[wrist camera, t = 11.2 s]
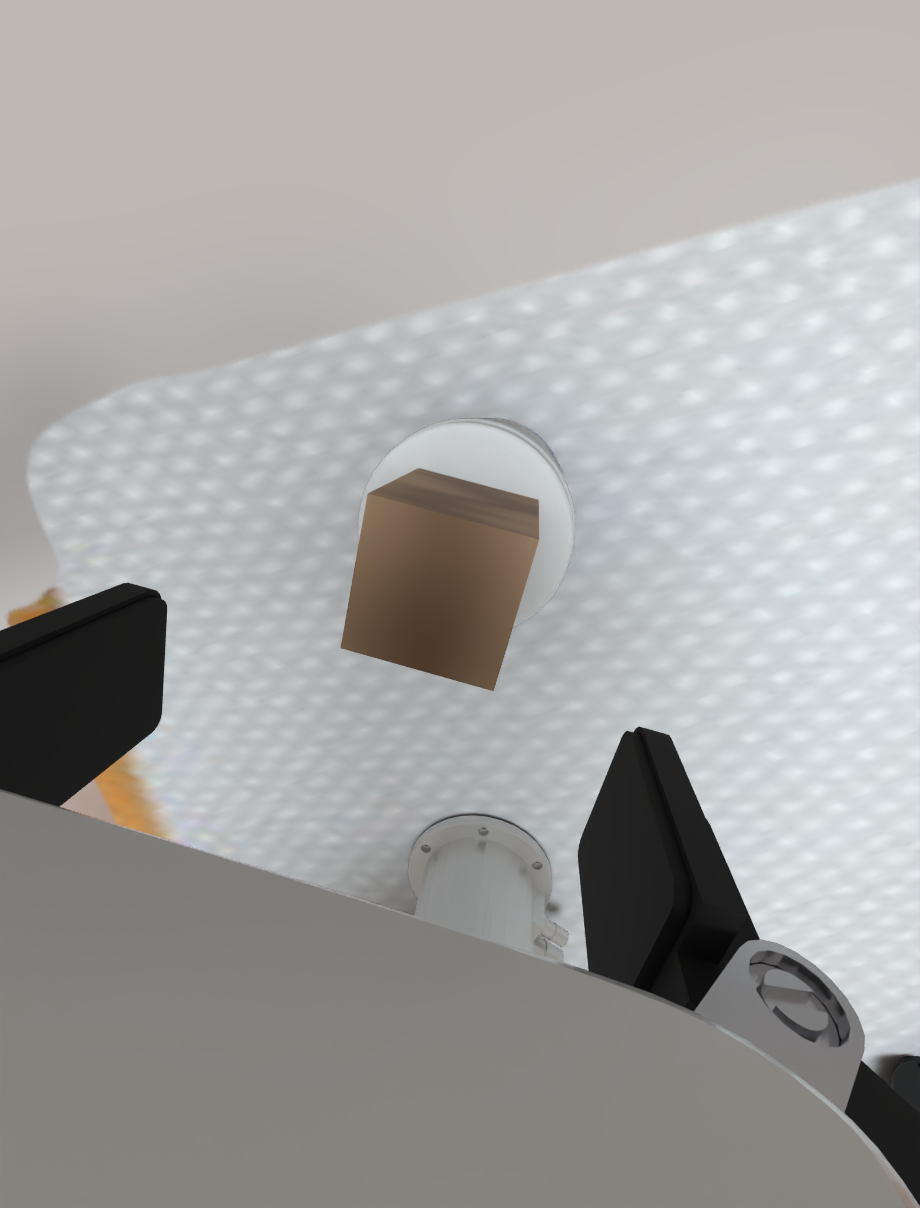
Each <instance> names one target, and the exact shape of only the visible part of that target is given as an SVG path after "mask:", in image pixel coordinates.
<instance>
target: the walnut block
mask: <svg viewBox="0 0 920 1208" xmlns="http://www.w3.org/2000/svg"><path fill="white" fill-rule="evenodd" d="M538 542H539V500H538V499H534V498H530V497H526V496H523V495H519V494H515V493H511V492H508V491H504V490H500V489H496V488H492V487H489V486H485V485H481V484H477V483H474V482H470V481H466V480H462V479H459V478H455V477H451V476H447V475H443V474H440V473H436V472H432V471H428V470H425V469H421V468H418V469H416V470H414V471H412V472H410V473H408V474H406V475H404V476H402V477H400V478H398V479H396V480H394V481H392V482H390V483H388V484H386V485H384V486H382V487H380V488H378V489H376V490H374V491H372V492H370V493H368V494H367V500H366V505H365V511H364V517H363V523H362V528H361V534H360V540H359V546H358V551H357V557H356V563H355V569H354V574H353V580H352V586H351V592H350V597H349V603H348V609H347V615H346V621H345V626H344V632H343V638H342V644H341V648H342V649H346V650H349V651H353V652H357V653H360V654H364V655H367V656H371V657H374V658H378V659H381V660H385V661H389V662H392V663H396V664H399V665H403V666H406V667H410V668H413V669H417V670H420V671H424V672H428V673H431V674H435V675H438V676H442V677H445V678H449V679H452V680H456V681H459V682H463V683H467V684H470V685H474V686H477V687H481V688H484V689H488V690H491V691H494V688H495V684H496V681H497V678H498V674H499V671H500V668H501V665H502V661H503V658H504V655H505V651H506V648H507V645H508V641H509V638H510V635H511V632H512V628H513V625H514V622H515V618H516V615H517V612H518V608H519V605H520V602H521V598H522V595H523V592H524V589H525V585H526V582H527V579H528V575H529V572H530V569H531V565H532V562H533V559H534V556H535V552H536V549H537V546H538Z"/></svg>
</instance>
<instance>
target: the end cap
mask: <svg viewBox="0 0 920 1208" xmlns="http://www.w3.org/2000/svg"><path fill="white" fill-rule="evenodd" d="M890 1087H891V1088H892V1089H893V1090H895V1091H896V1092H897V1093H898V1094H899V1095H900V1096H901V1097H902V1098H903V1099H904V1100H906V1101H907V1102H908V1103H909V1104H910V1105H911V1106H912V1107H913V1108H914V1109H915V1110H917V1111H918V1112H919V1113H920V1056H909V1057H904V1058H903V1059H902V1060H901V1061H900V1063H899V1064H898V1065H897V1067H896V1069H895V1070H894V1072H893V1075H892V1079H891V1086H890Z"/></svg>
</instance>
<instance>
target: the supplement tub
mask: <svg viewBox="0 0 920 1208" xmlns="http://www.w3.org/2000/svg"><path fill="white" fill-rule="evenodd" d="M418 468H421V469H425V470H428V471H432V472H436V473H440V474H443V475H447V476H451V477H455V478H459V479H462V480H466V481H470V482H474V483H477V484H481V485H485V486H489V487H492V488H496V489H500V490H504V491H508V492H511V493H515V494H519V495H523V496H526V497H530V498H534V499H538V500H539V542H538V546H537V549H536V552H535V556H534V559H533V562H532V565H531V569H530V572H529V575H528V579H527V582H526V585H525V589H524V592H523V595H522V598H521V602H520V605H519V608H518V612H517V615H516V618H515V622H514V625H513V627H515V626H517V625H519V624H521V623H522V622H524V621H526V620H527V619H529V618H530V617H531V616H533V615H534V614H535V613H537V612H538V611H539V610H540V609H541V608H542V607H543V606H544V605H545V604H546V603H547V602H548V601H549V600H550V598H551V597H552V596H553V594H554V593H555V591H556V590H557V588H558V587H559V585H560V584H561V582H562V580H563V578H564V576H565V573H566V571H567V568H568V565H569V562H570V559H571V556H572V552H573V547H574V540H575V515H574V508H573V502H572V498H571V495H570V492H569V489H568V486H567V483H566V481H565V479H564V476H563V473H562V470H561V468H560V465H559V463H558V461H557V459H556V457H555V455H554V453H553V452H552V450H551V449H550V448H549V446H548V445H547V444H546V443H545V442H544V441H543V439H542V438H541V437H540V436H538V435H537V434H536V433H535V432H533V431H532V430H530V429H528V428H527V427H525V426H523V425H521V424H518V423H516V422H513V421H509V420H504V419H495V418H464V419H455V420H447V421H443V422H439V423H436V424H432V425H430V426H427V427H425V428H423V429H421V430H419V431H417V432H415V433H413V434H412V435H410V436H409V437H407V438H406V439H404V440H403V441H402V442H401V443H399V444H398V445H397V446H396V447H394V448H393V449H392V450H391V451H390V452H389V453H388V454H387V455H386V456H385V457H384V458H383V459H382V461H381V462H380V463H379V464H378V466H377V467H376V469H375V470H374V472H373V473H372V475H371V477H370V479H369V481H368V483H367V485H366V488H365V490H364V493H363V497H362V500H361V504H360V509H359V517H358V537H359V540H360V534H361V528H362V523H363V517H364V511H365V505H366V500H367V494H368V493H370V492H372V491H374V490H376V489H378V488H380V487H382V486H384V485H386V484H388V483H390V482H392V481H394V480H396V479H398V478H400V477H402V476H404V475H406V474H408V473H410V472H412V471H414V470H416V469H418Z"/></svg>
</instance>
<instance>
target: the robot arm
mask: <svg viewBox="0 0 920 1208" xmlns="http://www.w3.org/2000/svg"><path fill="white" fill-rule="evenodd" d="M166 622H167V605H166V602H165V601H164V600H161V596H160V594H159V593H158V592H157V591H156V590H152V589H149V588H145V587H142V586H138V585H134V584H131V583H123V584H121V585H118V586H115V587H113V588H110V589H108V590H105V591H102V592H100V593H97V594H95V595H92V596H89V597H87V598H84V599H81V600H79V601H76V602H74V603H71V604H68V605H66V606H63V607H61V608H58V609H55V610H53V611H50V612H48V613H45V614H42V615H40V616H37V617H35V618H32V619H29V620H27V621H24V622H22V623H19V624H16V625H14V626H11V627H9V628H6V629H4V630H1V631H0V1208H920V1113H919V1112H918V1111H917V1110H915V1109H914V1108H913V1107H912V1106H911V1105H910V1104H909V1103H908V1102H907V1101H906V1100H904V1099H903V1098H902V1097H901V1096H900V1095H899V1094H898V1093H897V1092H896V1091H895V1090H893V1089H892V1088H891V1087H890V1086H889V1085H888V1084H887V1083H886V1082H885V1081H883V1080H882V1079H881V1078H880V1077H879V1076H878V1075H877V1074H876V1073H875V1072H874V1071H872V1070H871V1069H870V1068H869V1067H868V1066H867V1065H866V1064H865V1063H864V1062H863V1061H861V1059H862V1056H863V1053H864V1042H865V1035H864V1032H863V1029H862V1026H861V1023H860V1020H859V1017H858V1016H857V1014H856V1012H855V1011H854V1009H853V1008H852V1006H851V1004H850V1003H849V1001H848V999H847V998H846V997H845V995H844V994H843V993H842V992H841V991H840V990H839V988H838V987H837V986H836V985H835V984H834V983H833V981H832V980H831V979H830V978H829V977H827V976H826V975H825V974H824V973H823V972H822V971H821V970H820V969H818V968H817V967H816V966H815V965H814V964H813V963H811V962H810V961H808V960H807V959H805V958H804V957H802V956H801V955H799V954H798V953H796V952H795V951H793V950H791V949H789V948H786V947H784V946H782V945H780V944H778V943H774V942H770V941H766V940H760V939H759V937H758V934H757V932H756V930H755V927H754V925H753V923H752V921H751V918H750V916H749V914H748V911H747V909H746V907H745V904H744V902H743V900H742V897H741V895H740V893H739V891H738V888H737V886H736V884H735V881H734V879H733V877H732V874H731V872H730V870H729V867H728V865H727V863H726V861H725V858H724V856H723V854H722V851H721V849H720V847H719V844H718V842H717V840H716V837H715V835H714V833H713V831H712V828H711V826H710V824H709V822H708V821H707V819H706V818H705V816H704V814H703V811H702V809H701V807H700V804H699V802H698V800H697V797H696V795H695V793H694V790H693V788H692V786H691V783H690V781H689V779H688V776H687V774H686V772H685V769H684V767H683V765H682V762H681V760H680V758H679V755H678V753H677V751H676V748H675V746H674V744H673V741H672V739H671V737H670V736H669V735H667V734H664V733H660V732H657V731H653V730H650V729H646V728H642V727H638V728H636V729H635V731H634V732H629V731H626V732H625V733H624V734H623V736H622V738H621V741H620V743H619V746H618V748H617V750H616V753H615V755H614V758H613V760H612V763H611V765H610V768H609V770H608V773H607V775H606V778H605V780H604V782H603V785H602V787H601V790H600V792H599V795H598V797H597V800H596V802H595V805H594V807H593V810H592V812H591V814H590V817H589V819H588V822H587V824H586V827H585V829H584V832H583V834H582V837H581V840H580V844H579V849H578V863H579V874H580V884H581V895H582V905H583V916H584V926H585V937H586V947H587V958H588V968H589V971H587V970H584V969H581V968H578V967H575V966H572V965H570V964H567V963H564V962H563V958H564V954H563V951H562V950H561V949H559V948H558V947H556V946H554V945H553V944H551V943H549V942H548V941H546V940H545V939H544V940H542V939H540V938H539V937H538V936H539V935H540V934H542V935H544V936H545V937H547V939H549V940H550V941H552V942H553V943H555V944H557V945H558V946H560V947H563V946H564V945H565V944H566V943H567V940H568V935H569V934H568V931H567V930H565V929H564V928H562V927H560V926H559V925H557V924H555V923H552V922H551V921H549V920H548V919H547V916H546V914H545V908H546V906H547V904H548V902H549V900H550V897H551V891H552V873H551V868H550V863H549V861H548V859H547V857H546V855H545V853H544V851H543V850H542V849H541V847H540V846H539V845H538V843H537V842H536V841H535V840H534V839H532V838H531V837H530V836H529V835H528V834H527V833H525V832H524V831H522V830H521V829H519V828H517V827H516V826H514V825H511V824H509V823H507V822H504V821H502V820H498V819H494V818H491V817H484V816H475V815H473V816H459V817H454V818H449V819H446V820H444V821H441V822H439V823H436V824H435V825H433V826H432V827H430V828H429V829H427V830H426V831H425V832H424V833H423V834H422V835H421V836H420V837H419V838H418V840H417V842H416V843H415V845H414V847H413V850H412V853H411V856H410V859H409V865H408V877H409V882H410V885H411V888H412V891H413V893H414V894H415V896H416V898H417V899H418V901H417V905H416V909H415V914H414V915H411V914H407V913H404V912H401V911H398V910H395V909H391V908H388V907H385V906H382V905H379V904H375V903H372V902H369V901H366V900H362V899H359V898H356V897H353V896H350V895H346V894H343V893H340V892H337V891H333V890H330V889H327V888H324V887H320V886H317V885H314V884H311V883H307V882H304V881H301V880H298V879H294V878H291V877H288V876H285V875H281V874H278V873H275V872H272V871H268V870H265V869H262V868H259V867H255V866H252V865H249V864H246V863H242V862H239V861H236V860H233V859H229V858H226V857H223V856H219V855H216V854H213V853H210V852H206V851H203V850H200V849H196V848H193V847H190V846H187V845H183V844H180V843H177V842H173V841H170V840H167V839H164V838H160V837H157V836H154V835H150V834H147V833H144V832H141V831H137V830H134V829H131V828H127V827H124V826H121V825H118V824H114V823H111V822H107V821H104V820H101V819H98V818H94V817H91V816H88V815H85V814H81V813H78V812H75V811H71V810H68V809H65V808H61V807H60V806H61V805H62V804H63V803H64V802H66V801H67V800H68V799H70V798H71V797H72V796H73V795H75V794H76V793H77V792H78V791H79V790H81V789H82V788H83V787H85V786H86V785H87V784H88V783H90V782H91V781H92V780H93V779H95V778H96V777H97V776H98V775H100V774H101V773H102V772H103V771H105V770H106V769H107V768H108V767H110V766H111V765H112V764H113V763H115V762H116V761H117V760H118V759H120V758H121V757H122V756H123V755H125V754H126V753H127V752H128V751H130V750H131V749H132V748H133V747H135V746H136V745H137V744H138V743H140V742H141V741H142V740H143V739H145V738H146V737H147V736H148V735H150V734H151V733H152V732H153V731H154V730H155V729H156V727H157V726H158V724H159V722H160V719H161V715H162V700H163V681H164V661H165V642H166Z"/></svg>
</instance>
